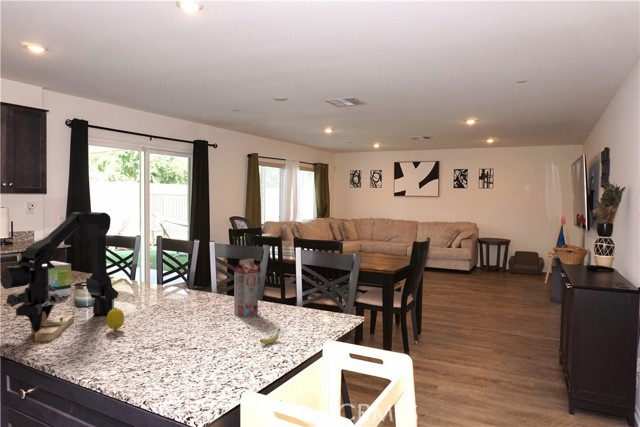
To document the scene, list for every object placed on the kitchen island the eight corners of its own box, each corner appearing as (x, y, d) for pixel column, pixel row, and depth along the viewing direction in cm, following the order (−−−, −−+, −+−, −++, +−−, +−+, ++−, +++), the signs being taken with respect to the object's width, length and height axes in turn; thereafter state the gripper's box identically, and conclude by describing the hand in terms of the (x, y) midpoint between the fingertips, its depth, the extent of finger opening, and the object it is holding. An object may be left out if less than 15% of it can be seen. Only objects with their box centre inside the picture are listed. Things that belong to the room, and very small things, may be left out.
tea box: (72, 295, 195) (71, 263, 194) (48, 299, 186) (48, 266, 185) (55, 290, 203) (55, 260, 202) (31, 294, 194) (31, 262, 194)
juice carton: (257, 314, 170) (258, 259, 169) (244, 317, 165) (244, 261, 164) (247, 310, 174) (248, 257, 173) (234, 314, 169) (234, 259, 168)
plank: (74, 321, 156) (73, 315, 156) (52, 340, 136) (52, 332, 136) (58, 322, 155) (58, 315, 154) (35, 341, 135) (34, 333, 135)
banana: (278, 339, 141) (278, 327, 141) (281, 340, 140) (281, 328, 140) (258, 345, 135) (258, 333, 135) (262, 346, 134) (262, 334, 134)
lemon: (106, 334, 143) (106, 310, 143) (106, 329, 148) (106, 306, 148) (124, 331, 146) (124, 308, 145) (123, 327, 150) (123, 304, 150)
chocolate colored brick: (65, 330, 146) (65, 312, 146) (61, 333, 142) (61, 316, 142) (36, 331, 144) (36, 313, 144) (31, 335, 140) (31, 317, 140)
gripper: (24, 278, 149) (24, 322, 150) (-4, 290, 131) (-4, 340, 132) (59, 277, 152) (59, 320, 152) (36, 289, 133) (37, 338, 134)
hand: (38, 329), depth 142 cm, fingers closed on chocolate colored brick, 4 cm apart
